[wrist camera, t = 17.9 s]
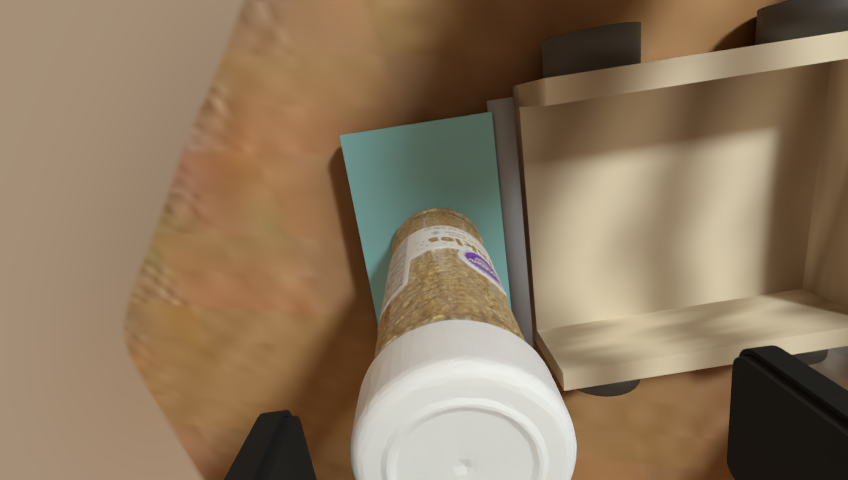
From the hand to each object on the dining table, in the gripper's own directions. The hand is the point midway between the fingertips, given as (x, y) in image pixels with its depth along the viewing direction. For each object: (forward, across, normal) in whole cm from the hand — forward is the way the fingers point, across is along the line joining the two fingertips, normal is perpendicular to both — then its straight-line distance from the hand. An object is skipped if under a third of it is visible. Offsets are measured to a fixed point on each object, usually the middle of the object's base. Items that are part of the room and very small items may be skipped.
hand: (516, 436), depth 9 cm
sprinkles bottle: (+13, +1, 0) cm, 13 cm away
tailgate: (+13, -3, -1) cm, 13 cm away
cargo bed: (+15, -12, -1) cm, 19 cm away
